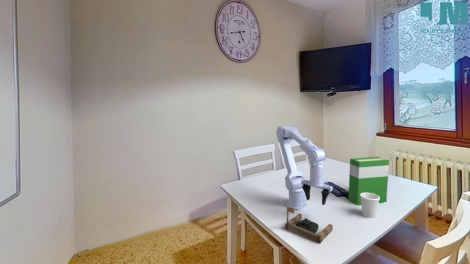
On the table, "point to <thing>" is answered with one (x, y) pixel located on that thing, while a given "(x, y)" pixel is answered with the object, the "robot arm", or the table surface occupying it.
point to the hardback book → (368, 178)
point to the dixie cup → (369, 204)
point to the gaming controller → (308, 223)
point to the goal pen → (305, 233)
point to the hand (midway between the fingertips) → (315, 201)
